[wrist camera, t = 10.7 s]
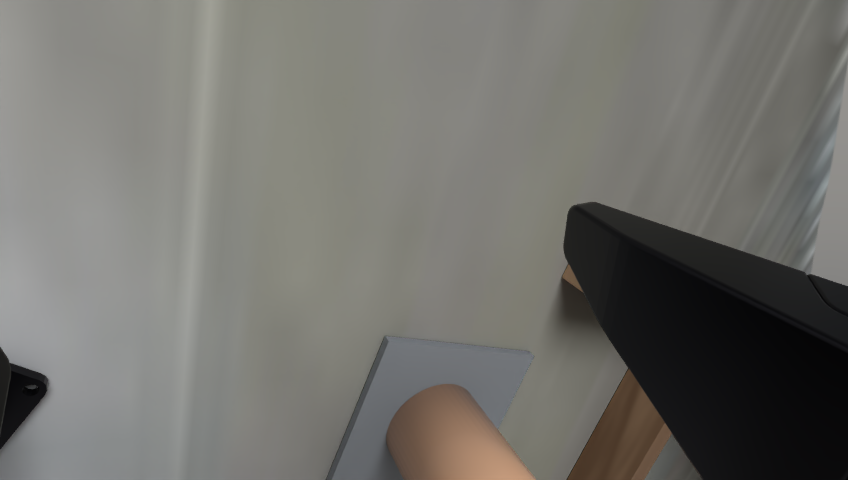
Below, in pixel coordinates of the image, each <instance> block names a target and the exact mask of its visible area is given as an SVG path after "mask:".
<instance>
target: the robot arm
mask: <svg viewBox="0 0 848 480" xmlns="http://www.w3.org/2000/svg"><path fill="white" fill-rule="evenodd" d="M563 247H564V254H565V257H566V260H567V262H568V264H569V265H570V267H571V269H572V271H573V273H574V275H575V277H576V279H577V281H578V283H579V285H580V287H581V289H582V291H583V293H584V295H585V297H586V299H587V301H588V303H589V304H590V306H591V308H592V310H593V312H594V314H595V316H596V318H597V320H598V322H599V323H600V325H601V327H602V329H603V330H604V332H605V333H606V335H607V336H608V338H609V340H610V341H611V343H612V344H613V346H614V347H615V349H616V350H617V352H618V353H619V355H620V356H621V358H622V359H623V361H624V362H625V364H626V365H627V367H628V368H629V370H630V371H631V373H632V374H633V376H634V377H635V379H636V380H637V382H638V383H639V385H640V386H641V388H642V389H643V391H644V392H645V394H646V395H647V397H648V398H649V400H650V401H651V403H652V404H653V406H654V407H655V409H656V410H657V412H658V413H659V415H660V416H661V418H662V419H663V421H664V422H665V424H666V425H667V427H668V428H669V430H670V431H671V433H672V434H673V436H674V437H675V439H676V440H677V442H678V443H679V445H680V446H681V448H682V449H683V451H684V453H685V454H686V456H687V457H688V459H689V460H690V462H691V463H692V465H693V466H694V468H695V469H696V471H697V472H698V474H699V475H700V477H701V478H702V480H848V286H845V285H842V284H839V283H836V282H833V281H830V280H827V279H824V278H821V277H818V276H815V275H812V274H809V275H806V273H805V272H803V271H800V270H797V269H794V268H791V267H788V266H785V265H782V264H779V263H776V262H773V261H770V260H767V259H764V258H761V257H758V256H755V255H752V254H749V253H746V252H743V251H740V250H737V249H734V248H731V247H728V246H725V245H722V244H719V243H716V242H713V241H710V240H707V239H704V238H701V237H698V236H695V235H692V234H689V233H686V232H683V231H680V230H677V229H674V228H671V227H668V226H665V225H662V224H659V223H656V222H653V221H650V220H647V219H644V218H641V217H638V216H635V215H632V214H629V213H626V212H623V211H620V210H617V209H614V208H611V207H608V206H605V205H602V204H600V203H597V202H588V203H583V204H577V205H573V206H572V207H571V208H570V209H569V211H568V215H567V222H566V230H565V237H564V246H563ZM30 384H31V385H36V386H38V388H36V389H28V388H26V387H25V386H26V385H30ZM48 384H49V383H48V379H47V377H46V376H45V375H43V374H41V373H38V372H35V371H32V370H29V369H26V368H23V367H20V366H17V365H14V364H11V363H9V360H8V358H7V356H6V355H5V353H4V352H3V350H2V349H1V347H0V449H1V448H2V447H3V445H4V444H5V443H6V442H7V441H8V439H9V438H10V437H11V436H12V434H13V433H14V432H15V431H16V430H17V428H18V427H19V426H20V425H21V423H22V422H23V421H24V420H25V419H26V417H27V416H28V415H29V414H30V412H31V411H32V410H33V409H34V408H35V406H36V405H37V404H38V403H39V401H40V400H41V399H42V398H43V397H44V395H45V394H46V392H47V389H48Z"/></svg>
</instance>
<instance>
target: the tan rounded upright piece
mask: <svg viewBox="0 0 848 480" xmlns="http://www.w3.org/2000/svg"><path fill="white" fill-rule="evenodd" d="M386 443H387V447H388V450H389V452H390V454H391V456H392V457H393V459H394V461H395V463H396V465H397V467H398V469H399V471H400V473H401V475H402V477H403V479H404V480H536V479H535V477H534V476H533V475H532V473H531V472H530V471H529V469H528V468H527V467H526V466H525V464H524V463H523V462H522V460H521V459H520V458H519V456H518V455H517V454H516V453H515V451H514V450H513V449H512V447H511V446H510V445H509V443H508V442H507V441H506V439H505V438H504V437H503V436H502V434H501V433H500V432H499V430H498V429H497V428H496V426H495V425H494V424H493V423H492V421H491V420H490V419H489V417H488V416H487V415H486V413H485V412H484V411H483V409H482V408H481V407H480V406H479V404H478V403H477V402H476V400H475V399H474V398H473V396H472V395H471V394H470V393H469V392H468V390H466V389H465V388H463V387H461V386H459V385H455V384H441V385H436V386H432V387H430V388H427V389H425V390H423V391H421V392H419V393H417V394H416V395H414V396H413V397H411V398H410V399H409V400H408V401H406V402H405V403H404V404H403V405H402V406H401V407H400V408H399V410H398V411H397V412H396V414H395V415H394V417H393V418H392V420H391V422H390V424H389V427H388V430H387V434H386Z"/></svg>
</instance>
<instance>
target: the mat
mask: <svg viewBox="0 0 848 480" xmlns="http://www.w3.org/2000/svg"><path fill="white" fill-rule="evenodd" d="M533 358H534V355H533V354H532V353H531V352H530V351H522V350H512V349H503V348H494V347H484V346H475V345H466V344H456V343H447V342H438V341H428V340H419V339H410V338H400V337H391V336H385V337H384V340H383V342H382V345H381V347H380V349H379V352H378V354H377V357H376V359H375V362H374V364H373V367H372V369H371V371H370V374H369V376H368V379H367V381H366V384H365V386H364V389H363V391H362V393H361V396H360V398H359V401H358V403H357V406H356V408H355V411H354V413H353V415H352V418H351V420H350V423H349V425H348V428H347V430H346V433H345V435H344V437H343V440H342V442H341V445H340V447H339V450H338V452H337V455H336V457H335V459H334V462H333V464H332V467H331V469H330V472H329V474H328V477H327V479H326V480H404V479H403V477H402V475H401V473H400V471H399V469H398V467H397V465H396V463H395V461H394V459H393V457H392V456H391V454H390V452H389V450H388V447H387V443H386V434H387V430H388V427H389V424H390V422H391V420H392V418H393V417H394V415H395V414H396V412H397V411H398V410H399V408H400V407H401V406H402V405H403V404H404V403H405V402H406V401H408V400H409V399H410V398H411V397H413V396H414V395H416V394H417V393H419V392H421V391H423V390H425V389H427V388H430V387H432V386H436V385H441V384H455V385H459V386H461V387H463V388H465V389H466V390H468V392H469V393H470V394H471V395H472V396H473V398H474V399H475V400H476V402H477V403H478V404H479V406H480V407H481V408H482V409H483V411H484V412H485V413H486V415H487V416H488V417H489V419H490V420H491V421H492V423H493V424H494V425H495V426H496V428H497V429H498V428H499V426H500V424H501V422H502V420H503V418H504V416H505V414H506V412H507V410H508V408H509V406H510V404H511V402H512V400H513V398H514V396H515V394H516V392H517V390H518V388H519V386H520V384H521V382H522V380H523V378H524V376H525V374H526V372H527V370H528V368H529V366H530V364H531V362H532V360H533Z"/></svg>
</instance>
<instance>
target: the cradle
mask: <svg viewBox="0 0 848 480" xmlns="http://www.w3.org/2000/svg"><path fill="white" fill-rule="evenodd" d="M562 278H564V279H565V280H566V281H568V282H569V283H571V284H572V285H573V286H575V287H576V288H578V289H579V290H580V291H582V289H581V287H580V285H579V283H578V281H577V279H576V277H575V275H574V273H573V271H572V269H571V267H570V265H569V264H568V266H567V268H566V270H565V272H564V274H563V276H562ZM582 292H583V291H582ZM671 434H672V433H671V431H670V430H669V428H668V427H667V425H666V424H665V422H664V421H663V419H662V418H661V416H660V415H659V413H658V412H657V410H656V409H655V407H654V406H653V404H652V403H651V401H650V400H649V398H648V397H647V395H646V394H645V392H644V391H643V389H642V388H641V386H640V385H639V383H638V382H637V380H636V379H635V377H634V376H633V374H632V373H631V371H630V370H629V369H628V371H627V372H626V374H625V376H624V378H623V380H622V381H621V383H620V385H619V387H618V389H617V390H616V392H615V394H614V396H613V398H612V400H611V401H610V403H609V405H608V407H607V409H606V410H605V412H604V414H603V416H602V418H601V419H600V421H599V423H598V425H597V427H596V428H595V430H594V432H593V434H592V436H591V437H590V439H589V441H588V443H587V445H586V446H585V448H584V450H583V452H582V454H581V455H580V457H579V459H578V461H577V463H576V464H575V466H574V468H573V470H572V472H571V473H570V475H569V477H568V479H567V480H644V479H645V477H646V476H647V474H648V472H649V471H650V469H651V467H652V466H653V464H654V462H655V461H656V459H657V457H658V456H659V454H660V452H661V451H662V449H663V447H664V446H665V444H666V442H667V441H668V439H669V437H670V436H671Z"/></svg>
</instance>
